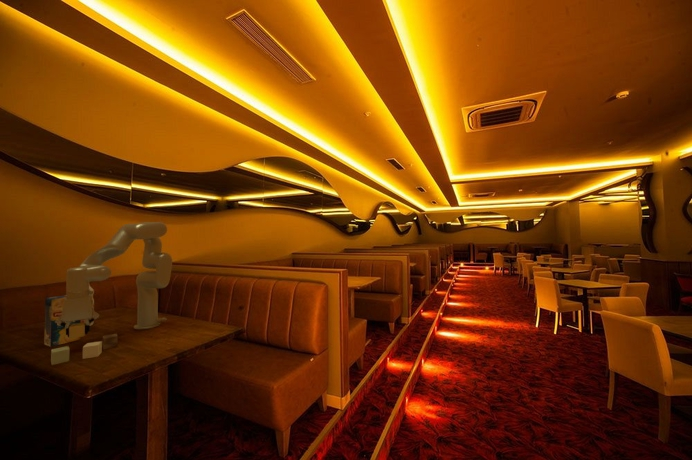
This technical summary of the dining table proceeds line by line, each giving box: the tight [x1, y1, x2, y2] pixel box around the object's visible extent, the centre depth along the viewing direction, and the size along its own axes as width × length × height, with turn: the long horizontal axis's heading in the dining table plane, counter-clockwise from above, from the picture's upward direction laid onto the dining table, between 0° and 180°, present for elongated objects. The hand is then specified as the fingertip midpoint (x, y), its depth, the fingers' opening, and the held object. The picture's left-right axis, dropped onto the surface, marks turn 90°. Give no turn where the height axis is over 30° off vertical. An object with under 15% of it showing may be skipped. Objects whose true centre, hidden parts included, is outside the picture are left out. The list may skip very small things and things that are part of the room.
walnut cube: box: [102, 332, 119, 350], centre depth 132 cm, size 5×5×5 cm
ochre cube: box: [69, 322, 87, 339], centre depth 128 cm, size 5×5×5 cm
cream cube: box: [82, 340, 103, 360], centre depth 122 cm, size 5×5×5 cm
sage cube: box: [50, 345, 71, 366], centre depth 117 cm, size 5×5×5 cm
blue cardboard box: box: [43, 294, 81, 348], centre depth 139 cm, size 7×11×22 cm, turn 155°
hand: (78, 334), depth 128 cm, fingers closed on ochre cube, 5 cm apart
